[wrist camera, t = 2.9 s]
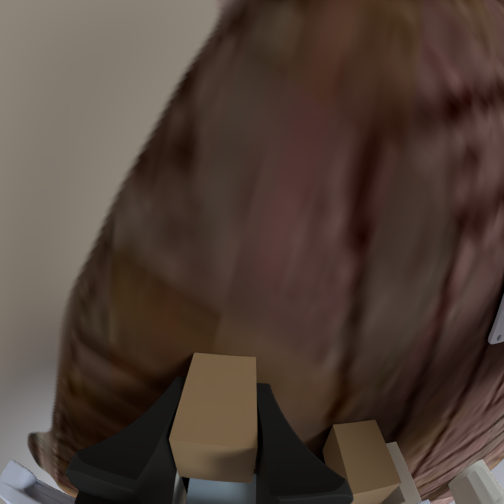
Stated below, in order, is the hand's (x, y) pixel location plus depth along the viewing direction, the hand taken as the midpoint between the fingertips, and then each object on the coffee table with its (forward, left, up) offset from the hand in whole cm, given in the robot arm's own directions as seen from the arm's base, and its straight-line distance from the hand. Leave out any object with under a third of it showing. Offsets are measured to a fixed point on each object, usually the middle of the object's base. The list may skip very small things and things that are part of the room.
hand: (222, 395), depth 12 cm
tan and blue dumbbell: (0, +7, -1) cm, 7 cm away
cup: (-34, +25, -2) cm, 42 cm away
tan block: (-8, +10, -1) cm, 13 cm away
